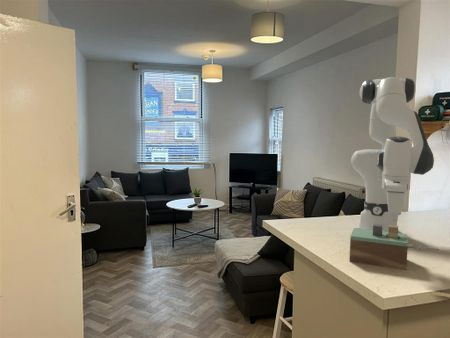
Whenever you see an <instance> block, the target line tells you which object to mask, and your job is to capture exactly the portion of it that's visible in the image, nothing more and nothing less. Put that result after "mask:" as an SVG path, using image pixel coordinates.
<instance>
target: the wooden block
mask: <svg viewBox="0 0 450 338" xmlns="http://www.w3.org/2000/svg"><path fill="white" fill-rule="evenodd" d="M398 233H399V225H397V226H396V227H394V226H391V225H389V230H388V238H395V239H398Z"/></svg>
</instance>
